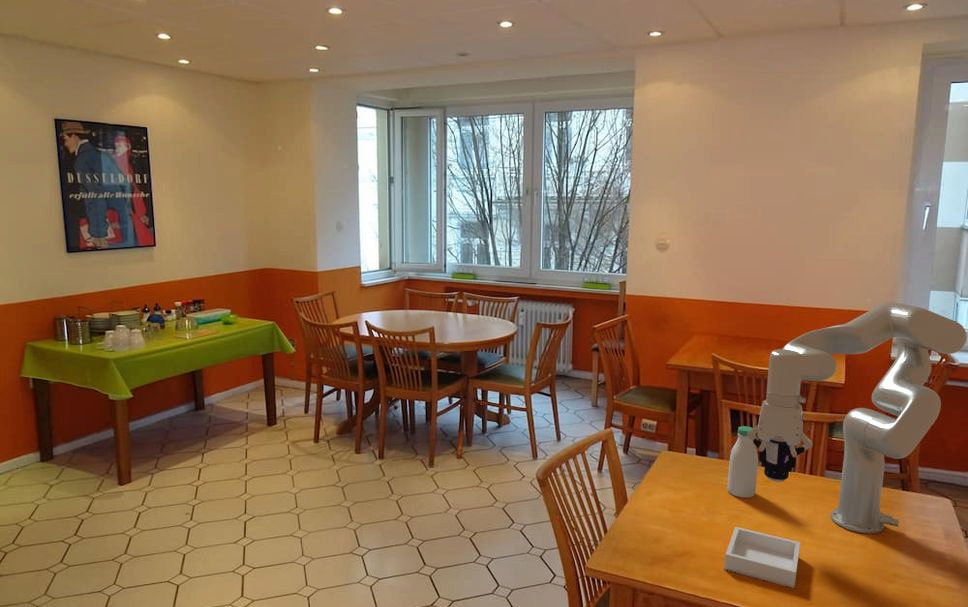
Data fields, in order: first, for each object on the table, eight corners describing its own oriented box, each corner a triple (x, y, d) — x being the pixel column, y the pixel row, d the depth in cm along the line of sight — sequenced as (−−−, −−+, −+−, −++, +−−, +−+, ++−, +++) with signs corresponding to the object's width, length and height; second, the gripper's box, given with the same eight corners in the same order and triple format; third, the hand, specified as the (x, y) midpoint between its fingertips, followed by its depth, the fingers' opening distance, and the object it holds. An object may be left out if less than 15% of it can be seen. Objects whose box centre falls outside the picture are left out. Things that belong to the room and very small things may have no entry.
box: (798, 557, 162) (800, 542, 161) (794, 588, 149) (795, 572, 148) (734, 541, 169) (735, 526, 168) (724, 569, 156) (725, 554, 155)
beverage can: (786, 484, 166) (790, 439, 164) (762, 479, 169) (765, 434, 167) (789, 476, 170) (793, 432, 168) (765, 471, 173) (769, 427, 171)
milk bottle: (759, 499, 193) (765, 433, 190) (732, 498, 193) (738, 432, 190) (749, 487, 200) (754, 424, 197) (723, 486, 201) (728, 423, 197)
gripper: (821, 400, 165) (815, 469, 168) (747, 390, 173) (742, 455, 176) (820, 409, 159) (813, 480, 162) (743, 398, 167) (738, 466, 170)
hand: (776, 466), depth 169 cm, fingers closed on beverage can, 5 cm apart
